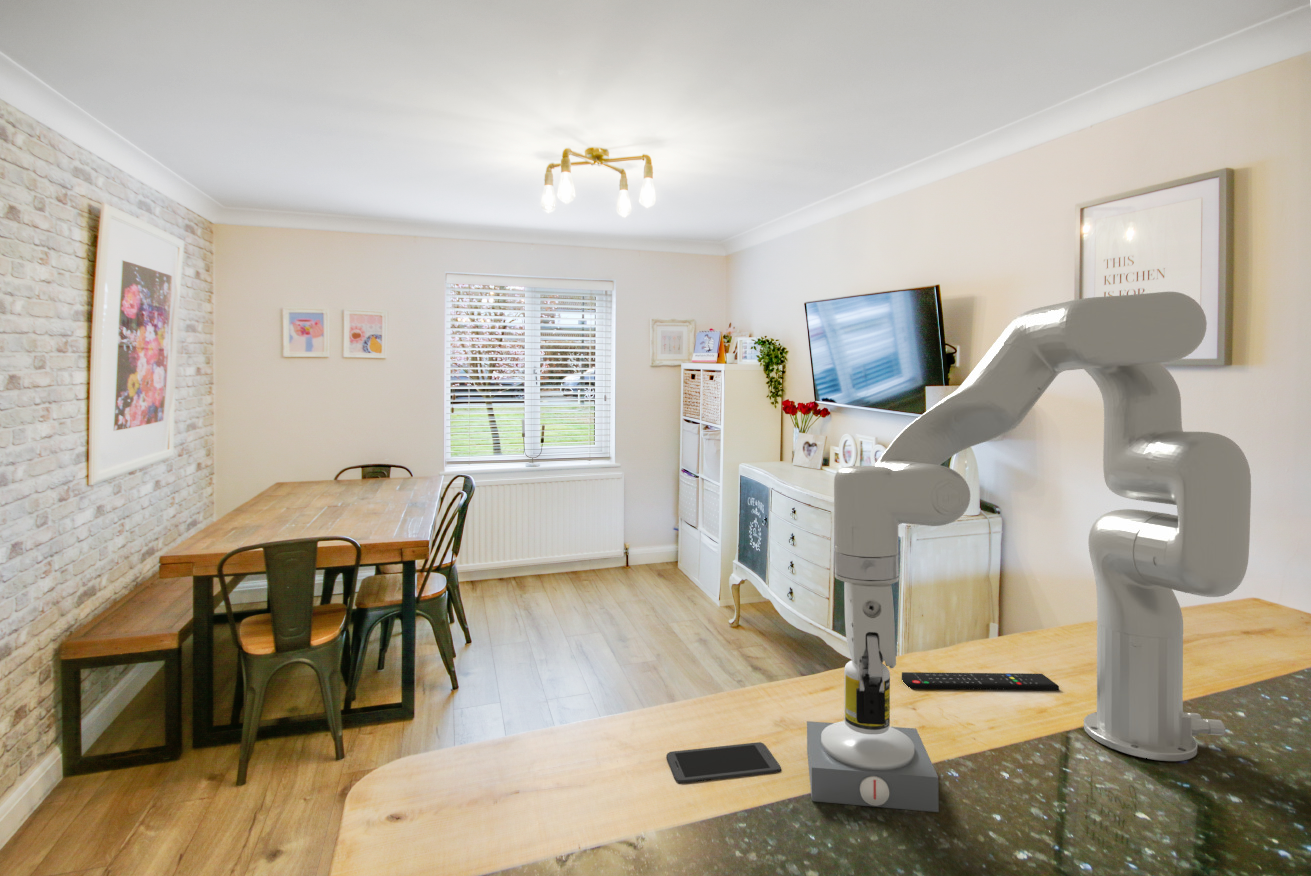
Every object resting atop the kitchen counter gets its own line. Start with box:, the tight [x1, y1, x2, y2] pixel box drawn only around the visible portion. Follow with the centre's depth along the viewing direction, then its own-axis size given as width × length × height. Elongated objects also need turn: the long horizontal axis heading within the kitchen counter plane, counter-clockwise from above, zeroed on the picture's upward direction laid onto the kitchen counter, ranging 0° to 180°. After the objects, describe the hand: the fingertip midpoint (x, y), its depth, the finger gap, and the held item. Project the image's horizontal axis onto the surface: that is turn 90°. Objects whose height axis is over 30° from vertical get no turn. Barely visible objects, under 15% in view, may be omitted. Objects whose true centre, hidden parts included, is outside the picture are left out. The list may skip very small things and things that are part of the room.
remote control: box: [901, 671, 1060, 691], centre depth 110 cm, size 5×24×1 cm, turn 87°
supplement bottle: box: [843, 654, 891, 734], centre depth 81 cm, size 5×5×10 cm
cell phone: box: [666, 741, 782, 784], centre depth 86 cm, size 7×14×1 cm, turn 101°
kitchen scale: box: [806, 720, 940, 813], centre depth 81 cm, size 14×13×5 cm
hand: (867, 709), depth 82 cm, fingers closed on supplement bottle, 5 cm apart
